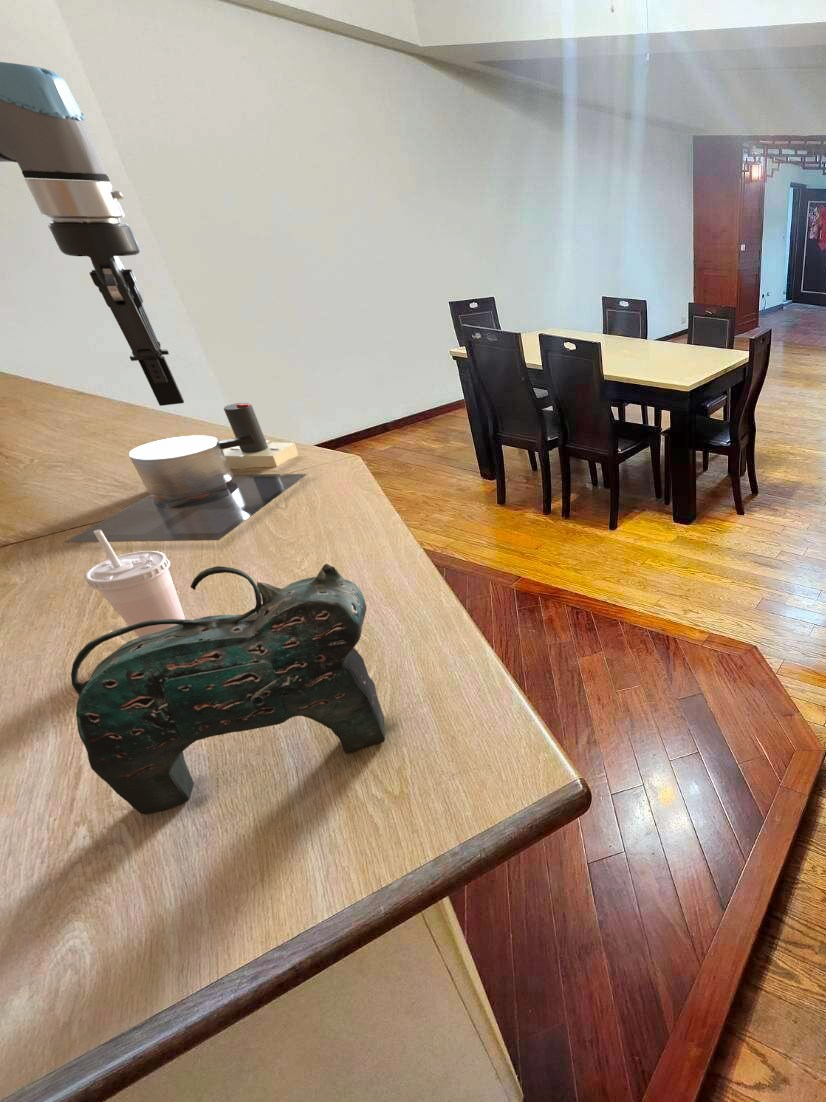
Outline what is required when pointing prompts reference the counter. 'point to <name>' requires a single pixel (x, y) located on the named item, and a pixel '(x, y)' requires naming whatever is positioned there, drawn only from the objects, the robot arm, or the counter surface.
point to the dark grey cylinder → (246, 426)
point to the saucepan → (185, 465)
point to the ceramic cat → (226, 684)
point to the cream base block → (260, 456)
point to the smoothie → (137, 587)
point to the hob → (193, 512)
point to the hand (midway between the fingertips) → (171, 403)
